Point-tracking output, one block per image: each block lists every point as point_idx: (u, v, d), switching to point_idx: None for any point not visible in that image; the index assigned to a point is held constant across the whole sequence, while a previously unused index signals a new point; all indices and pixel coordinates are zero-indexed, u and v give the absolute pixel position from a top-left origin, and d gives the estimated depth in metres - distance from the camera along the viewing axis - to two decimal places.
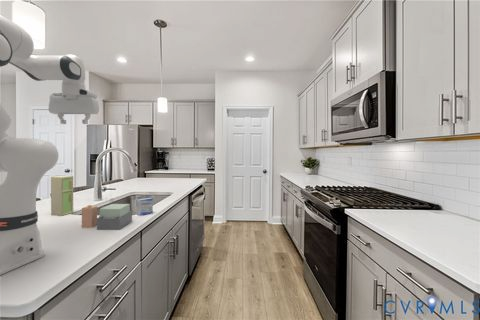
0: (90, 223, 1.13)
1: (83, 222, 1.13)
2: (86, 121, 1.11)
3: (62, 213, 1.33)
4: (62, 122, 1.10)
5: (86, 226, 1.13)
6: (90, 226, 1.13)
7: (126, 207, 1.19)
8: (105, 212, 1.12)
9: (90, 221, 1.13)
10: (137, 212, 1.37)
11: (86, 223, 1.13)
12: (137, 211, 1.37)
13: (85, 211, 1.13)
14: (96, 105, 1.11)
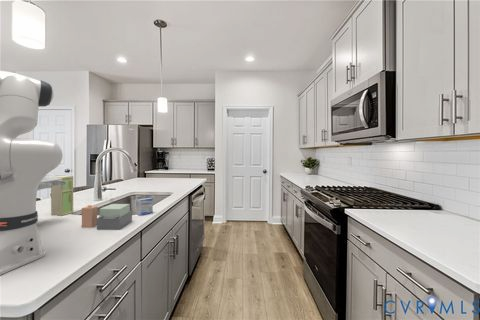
0: (90, 223, 1.13)
1: (83, 222, 1.13)
2: None
3: (62, 213, 1.33)
4: (50, 183, 1.10)
5: (86, 226, 1.13)
6: (90, 226, 1.13)
7: (126, 207, 1.19)
8: (105, 212, 1.12)
9: (90, 221, 1.13)
10: (137, 212, 1.37)
11: (86, 223, 1.13)
12: (137, 211, 1.37)
13: (85, 211, 1.13)
14: None
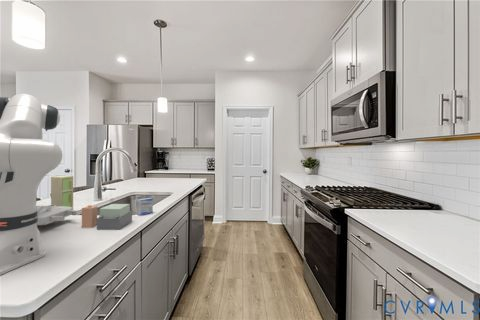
0: (90, 223, 1.13)
1: (83, 222, 1.13)
2: None
3: None
4: (62, 216, 1.10)
5: (86, 226, 1.13)
6: (90, 226, 1.13)
7: (126, 207, 1.19)
8: (105, 212, 1.12)
9: (90, 221, 1.13)
10: (137, 212, 1.37)
11: (86, 223, 1.13)
12: (137, 211, 1.37)
13: (85, 211, 1.13)
14: None
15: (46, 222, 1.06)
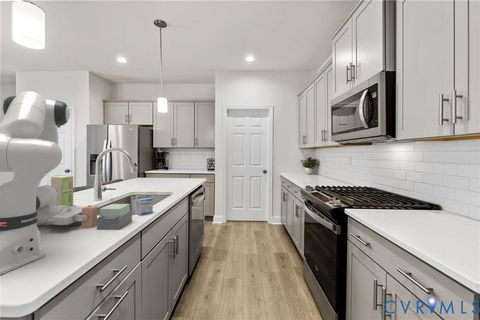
0: (90, 223, 1.13)
1: (83, 222, 1.13)
2: None
3: None
4: (86, 215, 1.12)
5: (86, 226, 1.13)
6: (90, 226, 1.13)
7: (126, 207, 1.19)
8: (105, 212, 1.12)
9: (90, 221, 1.13)
10: (137, 212, 1.37)
11: (86, 223, 1.13)
12: (137, 211, 1.37)
13: (85, 211, 1.13)
14: None
15: (69, 222, 1.06)
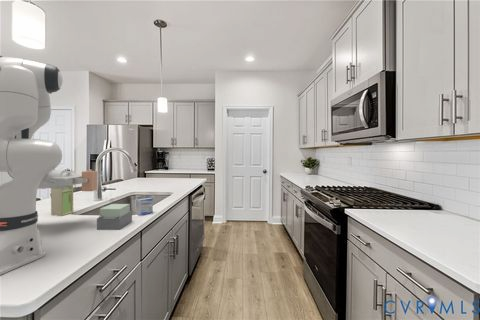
0: (90, 187, 1.12)
1: (83, 186, 1.12)
2: None
3: (62, 213, 1.33)
4: (86, 178, 1.12)
5: (86, 190, 1.12)
6: (90, 190, 1.12)
7: (126, 207, 1.19)
8: (105, 212, 1.12)
9: (90, 185, 1.12)
10: (137, 212, 1.37)
11: (86, 187, 1.12)
12: (137, 211, 1.37)
13: (85, 174, 1.12)
14: None
15: (69, 183, 1.06)
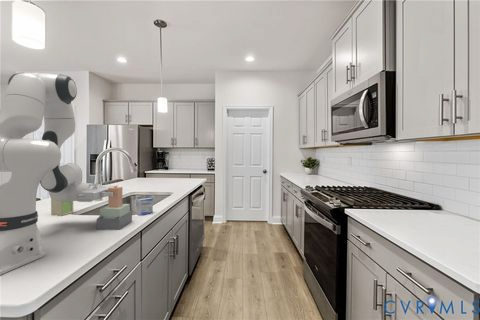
0: (116, 203, 1.15)
1: (110, 202, 1.15)
2: None
3: (62, 213, 1.33)
4: (112, 192, 1.13)
5: (112, 206, 1.15)
6: (116, 206, 1.15)
7: (126, 207, 1.19)
8: (105, 212, 1.12)
9: (116, 201, 1.15)
10: (137, 212, 1.37)
11: (113, 203, 1.15)
12: (137, 211, 1.37)
13: (112, 191, 1.15)
14: None
15: (97, 197, 1.09)
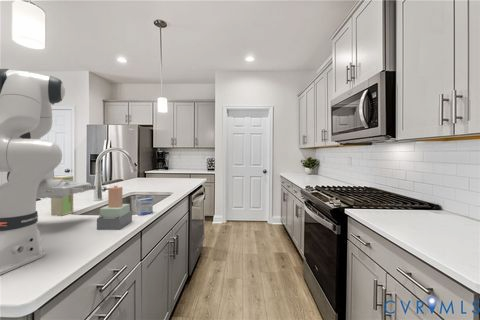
0: (116, 203, 1.15)
1: (110, 202, 1.15)
2: None
3: (62, 213, 1.33)
4: (82, 188, 1.12)
5: (112, 206, 1.15)
6: (116, 206, 1.15)
7: (126, 207, 1.19)
8: (105, 212, 1.12)
9: (116, 201, 1.15)
10: (137, 212, 1.37)
11: (113, 203, 1.15)
12: (137, 211, 1.37)
13: (112, 191, 1.15)
14: None
15: (67, 193, 1.08)
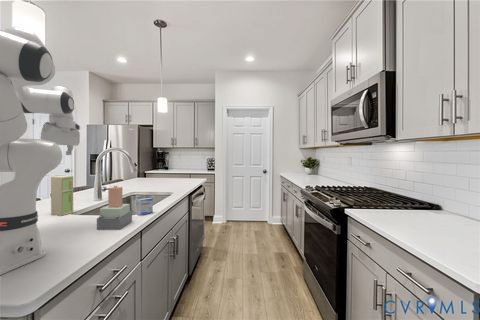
0: (116, 203, 1.15)
1: (110, 202, 1.15)
2: None
3: (62, 213, 1.33)
4: None
5: (112, 206, 1.15)
6: (116, 206, 1.15)
7: (126, 207, 1.19)
8: (105, 212, 1.12)
9: (116, 201, 1.15)
10: (137, 212, 1.37)
11: (113, 203, 1.15)
12: (137, 211, 1.37)
13: (112, 191, 1.15)
14: None
15: None
